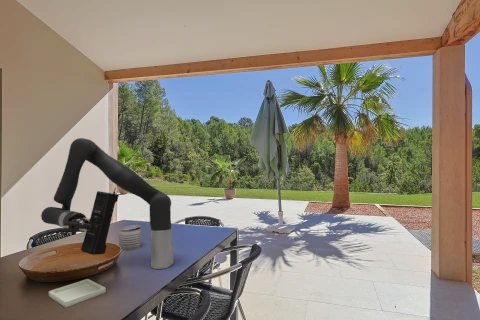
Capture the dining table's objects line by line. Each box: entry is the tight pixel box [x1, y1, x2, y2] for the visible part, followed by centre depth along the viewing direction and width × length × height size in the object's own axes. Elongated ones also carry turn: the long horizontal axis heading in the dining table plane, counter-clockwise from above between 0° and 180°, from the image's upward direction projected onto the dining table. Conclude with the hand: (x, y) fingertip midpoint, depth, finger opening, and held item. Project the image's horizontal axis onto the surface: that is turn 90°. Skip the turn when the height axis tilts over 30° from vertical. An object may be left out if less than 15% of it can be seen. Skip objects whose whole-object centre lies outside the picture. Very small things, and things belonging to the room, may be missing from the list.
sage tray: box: [48, 278, 107, 308], centre depth 110 cm, size 14×14×2 cm
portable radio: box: [80, 187, 120, 256], centre depth 113 cm, size 8×6×25 cm
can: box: [118, 224, 142, 252], centre depth 167 cm, size 11×11×12 cm
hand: (93, 227), depth 110 cm, fingers closed on portable radio
